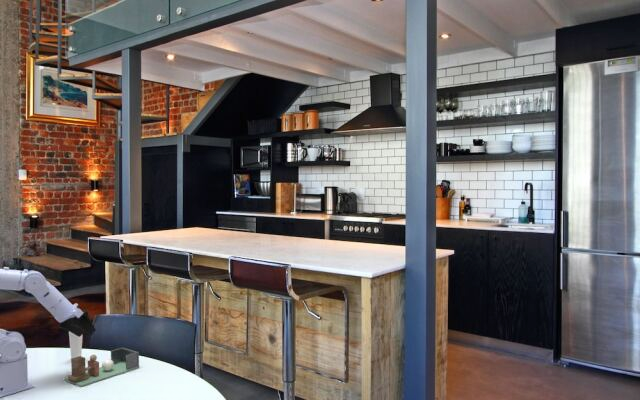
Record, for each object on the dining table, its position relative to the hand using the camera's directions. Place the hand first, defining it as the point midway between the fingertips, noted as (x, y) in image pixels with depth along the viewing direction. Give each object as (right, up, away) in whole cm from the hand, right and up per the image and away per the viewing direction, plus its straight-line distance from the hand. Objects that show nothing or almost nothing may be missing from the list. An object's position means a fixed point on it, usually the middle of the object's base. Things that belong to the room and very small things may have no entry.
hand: (87, 333), depth 158 cm
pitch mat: (+4, -13, +1) cm, 14 cm away
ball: (+5, -11, +2) cm, 12 cm away
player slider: (+1, -12, -4) cm, 13 cm away
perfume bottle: (-9, -13, +13) cm, 20 cm away
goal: (+9, -13, +7) cm, 17 cm away
